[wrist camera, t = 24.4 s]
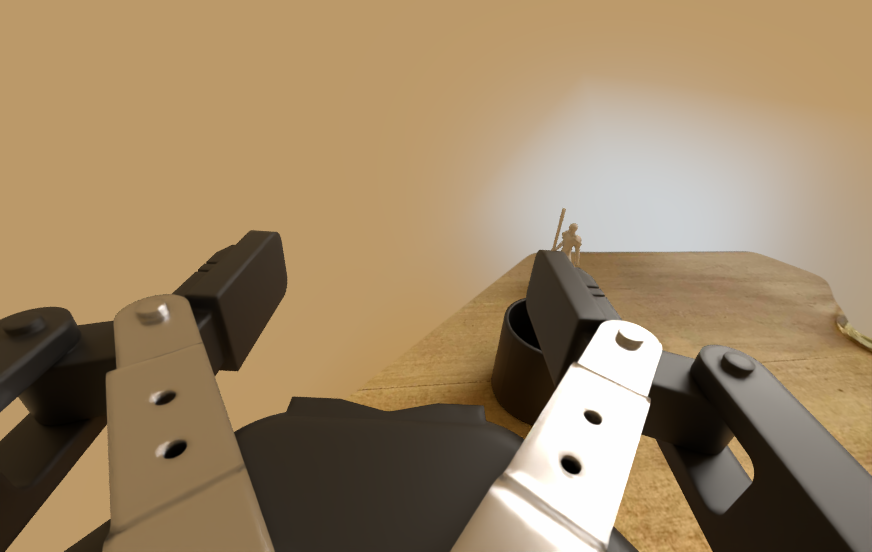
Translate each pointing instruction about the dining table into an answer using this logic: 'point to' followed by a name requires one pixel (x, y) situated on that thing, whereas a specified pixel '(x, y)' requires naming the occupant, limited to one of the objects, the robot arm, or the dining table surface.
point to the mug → (521, 367)
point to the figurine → (568, 240)
